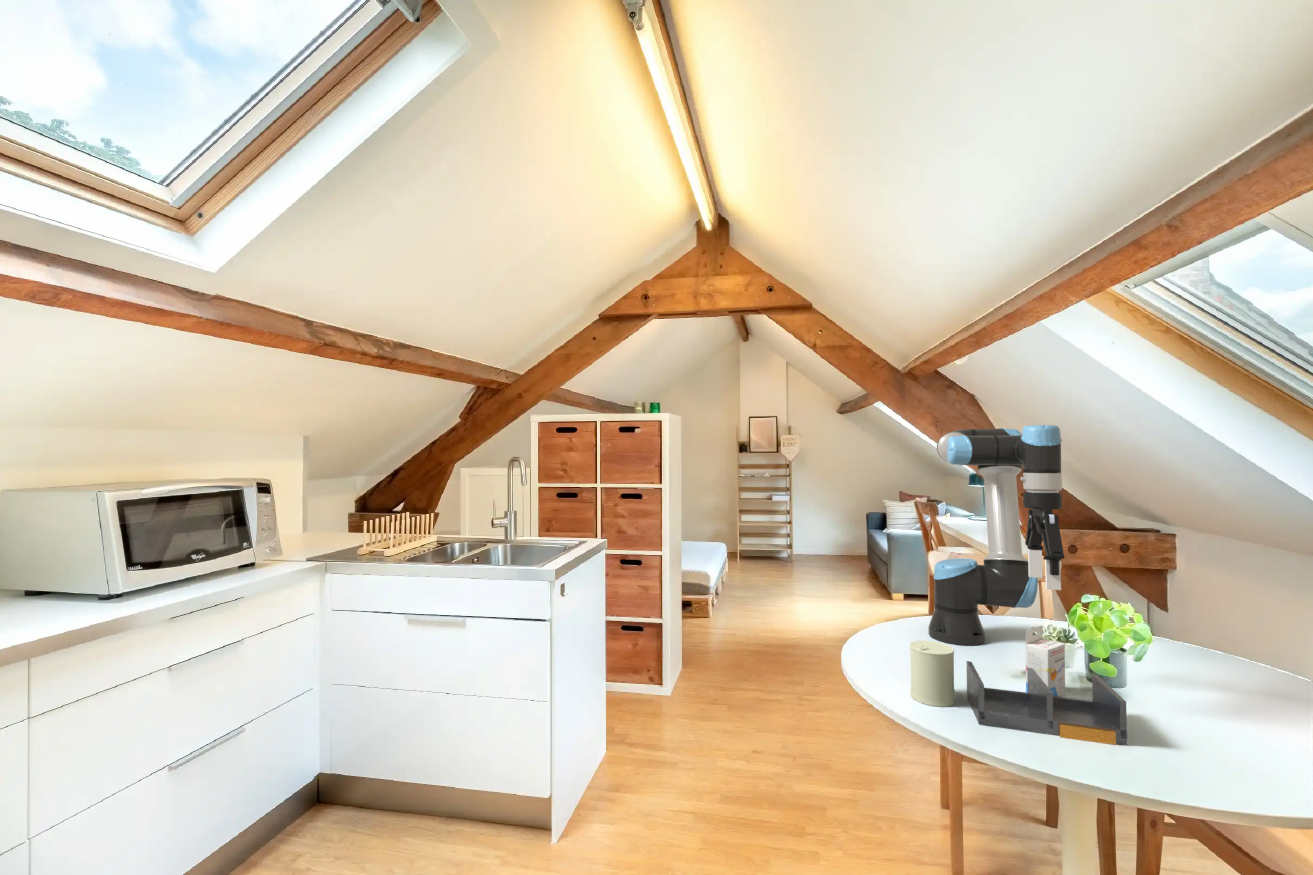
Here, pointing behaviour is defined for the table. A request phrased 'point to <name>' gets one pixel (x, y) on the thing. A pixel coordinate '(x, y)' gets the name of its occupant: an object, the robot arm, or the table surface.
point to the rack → (1050, 710)
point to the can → (932, 673)
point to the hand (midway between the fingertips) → (1044, 583)
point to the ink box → (1046, 660)
